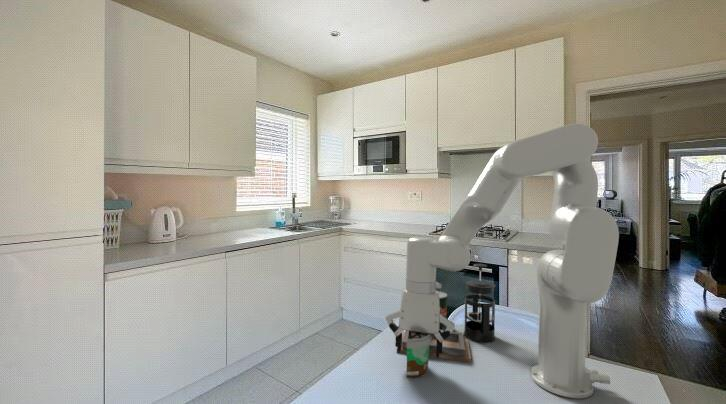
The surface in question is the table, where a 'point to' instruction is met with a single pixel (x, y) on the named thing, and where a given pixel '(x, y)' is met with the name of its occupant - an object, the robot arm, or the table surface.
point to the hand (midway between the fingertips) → (418, 352)
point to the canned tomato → (443, 308)
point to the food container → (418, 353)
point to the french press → (479, 321)
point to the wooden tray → (445, 347)
